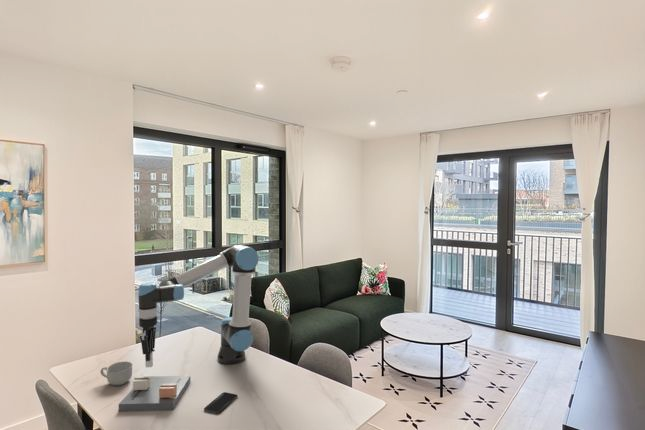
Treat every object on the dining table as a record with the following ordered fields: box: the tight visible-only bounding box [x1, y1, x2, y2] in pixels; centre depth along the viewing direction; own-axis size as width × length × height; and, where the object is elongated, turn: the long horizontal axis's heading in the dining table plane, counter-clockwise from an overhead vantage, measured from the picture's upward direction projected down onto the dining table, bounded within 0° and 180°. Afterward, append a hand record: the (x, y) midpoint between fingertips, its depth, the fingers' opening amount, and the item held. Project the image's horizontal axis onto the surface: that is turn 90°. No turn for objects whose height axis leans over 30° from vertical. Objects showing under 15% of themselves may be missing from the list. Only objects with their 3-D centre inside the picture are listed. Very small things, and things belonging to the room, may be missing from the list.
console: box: [118, 375, 191, 412], centre depth 160 cm, size 22×24×3 cm
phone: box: [203, 391, 238, 415], centre depth 154 cm, size 8×1×15 cm
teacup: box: [100, 360, 133, 387], centre depth 171 cm, size 14×11×8 cm
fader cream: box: [132, 376, 150, 390], centre depth 159 cm, size 6×4×4 cm, turn 94°
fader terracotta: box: [159, 384, 177, 398], centre depth 153 cm, size 6×4×4 cm, turn 94°
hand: (149, 366), depth 166 cm, fingers closed
